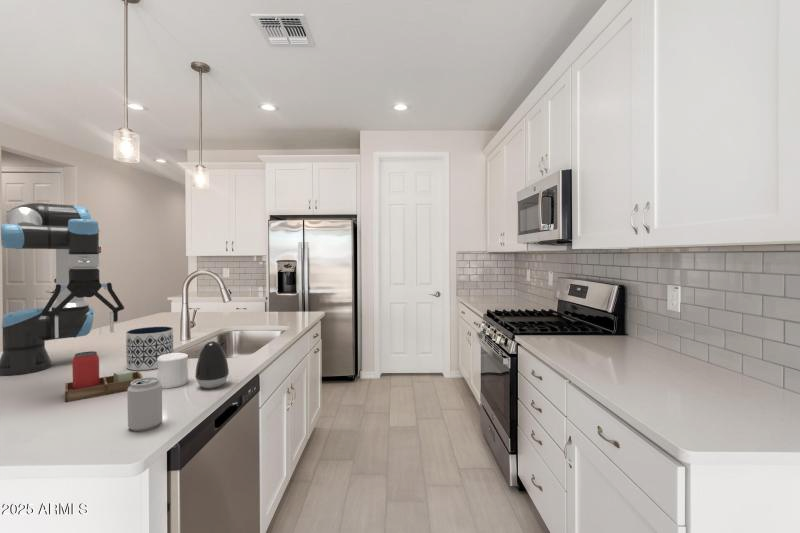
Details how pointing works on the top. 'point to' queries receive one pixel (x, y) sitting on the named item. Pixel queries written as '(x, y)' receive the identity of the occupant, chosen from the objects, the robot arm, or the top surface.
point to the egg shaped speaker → (212, 366)
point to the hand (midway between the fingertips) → (85, 334)
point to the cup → (172, 370)
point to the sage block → (123, 376)
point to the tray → (99, 388)
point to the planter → (147, 347)
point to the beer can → (85, 370)
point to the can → (144, 403)
